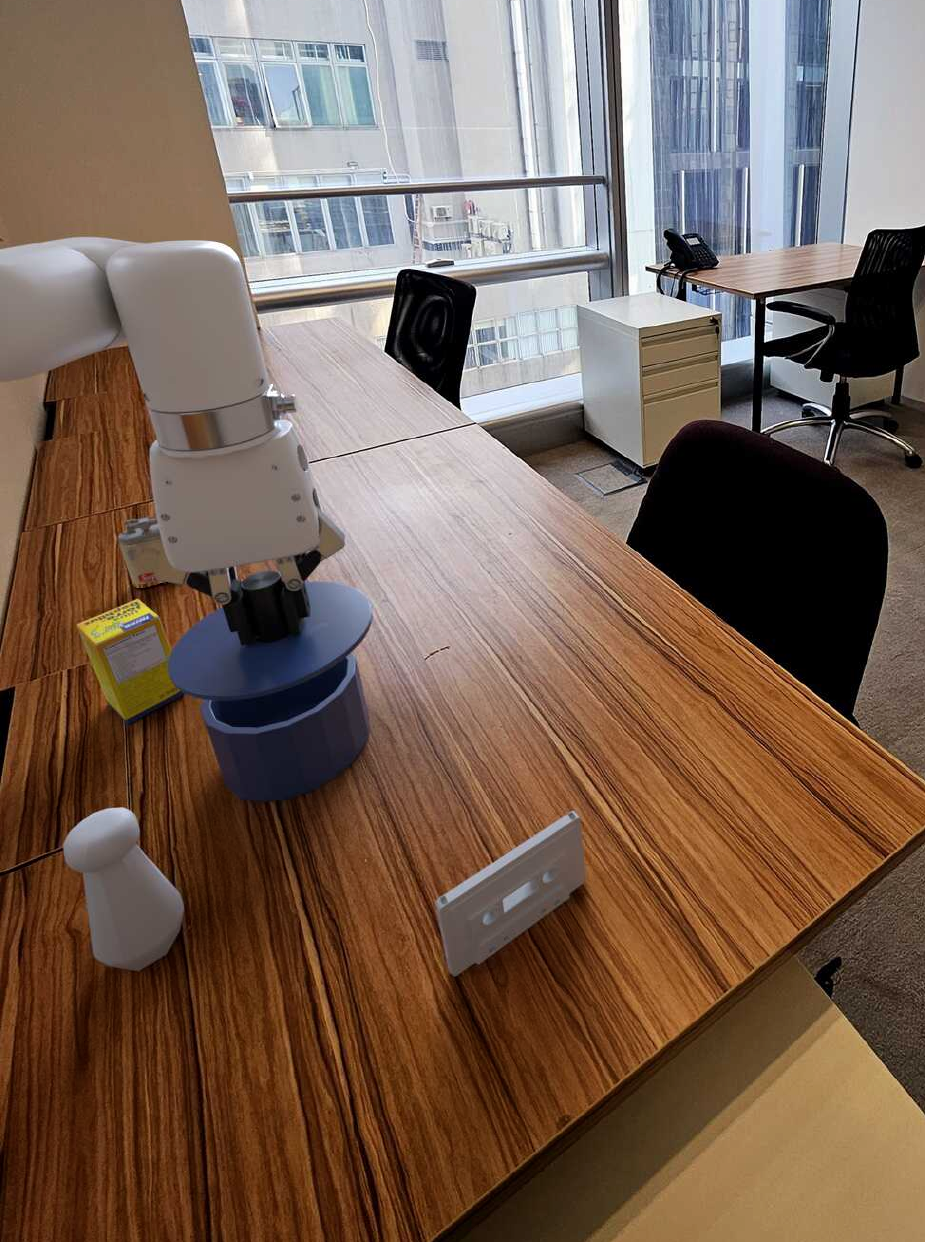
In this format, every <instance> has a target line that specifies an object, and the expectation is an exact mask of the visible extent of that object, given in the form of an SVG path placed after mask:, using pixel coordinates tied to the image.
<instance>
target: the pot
mask: <svg viewBox="0 0 925 1242" xmlns="http://www.w3.org/2000/svg"><path fill="white" fill-rule="evenodd" d="M367 705H368V704H367V701H366V696H365V691H364V688H363V683H362V678H361V674H360V669H359V665H358V660H357V657H356V656H355V655H354V653H353V651H352V652H351V653H350V654H349V655H348V656H347V657H345V658H344V659H343V660H342V661H340V662H339V663H337V664H336V665H334V666H333V667H332V668H330V669H328V670H327V671H325V672H323V673H321V674H320V675H318V676H316V677H314V678H312V679H310V680H308V681H306V682H303V683H301V684H298V685H296V686H293V687H291V688H288V689H285V690H282V691H279V692H276V693H272V694H268V695H265V696H260V697H255V698H250V699H242V700H234V701H214V700H205V699H202V703H201V706H200V708H199V711H200V714H201V717H202V720H203V723H204V726H205V729H206V733H207V735H208V738H209V742H210V744H211V747H212V750H213V753H214V756H215V759H216V762H217V765H218V769H219V772H220V774H221V776H222V779H223V781H224V784H225V785H226V788H227V789H228V790H229V791H230V792H231V793H232V794H233V795H235V796H237V797H238V798H241V799H243V800H246V801H250V802H260V803H265V802H266V803H268V802H269V803H270V802H271V803H272V802H279V801H283V800H288V799H292V798H295V797H299V796H302V795H304V794H306V793H310V792H312V791H313V790H316V789H317V788H319V787H321V786H323V785H325V784H327V783H328V782H330V781H332V780H333V779H335V778H336V777H338V776H339V775H340V774H342V773H343V772H344V771H346V769H348V767H350V765H351V764H352V763H354V762H355V760H356V759H357V758H358V757H359V755H360V754H361V752H362V751H363V750H364V748H365V746H366V744H367V742H368V739H369V736H370V730H371V728H370V714H369V709H368V706H367Z"/></svg>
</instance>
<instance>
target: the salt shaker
mask: <svg viewBox="0 0 925 1242" xmlns="http://www.w3.org/2000/svg"><path fill="white" fill-rule="evenodd" d="M140 833H141V830H140V827H139V823H138V820H137V817H136V815H135V814H134V812H133V811H132V810H130V809H127V808H126V807H124V806H123V807H111V808H110V807H109V808H104V809H102V810H99V811H97V812H93V813H91V814H90V815H89V816H87V817H85V818H84V819H82V820H81V821H80V822H79V823H77V825H76V826H74V827H73V828H72V829H71V830H70V832H68V834H67V836H66V838H65V839H64V841H63V843H62V850H63V855H64V862H65V863H66V865H67V866H68V868H70V869H72V870H74V871H75V872H77V873H80V874H82V878H83V885H84V893H85V901H86V908H87V916H88V924H89V931H90V939H91V947H92V954H93V957H94V959H96V960H97V961H98V962H100V963H102V964H104V965H106V966H108V967H110V968H117V969H121V970H129V971H134V972H140V971H141V970H143V969H145V968H146V967H148V966H149V965H152V964H153V963H154V962H156V961H158V960H159V959H161V958H163V957H164V956H166V955H167V954H168V952H169V951H170V949H171V947H172V945H173V943H174V942H175V940H176V939H177V936H178V935H179V933H180V931H181V926H182V922H183V917H184V913H185V907H184V902H183V899H182V896H181V893H180V892H179V891H178V889H177V888H176V887H175V886H174V885H173V884H172V882H170V880H169V879H168V878H167V877H166V876H165V875H164V874H163V872H162V871H161V870H160V869H159V868H158V867H157V866H156V865H155V864H154V862H153V861H152V860H151V859H150V858H149V857H148V856H147V855H146V854H145V852H144V851H143V850H142V849H141V847H139V846H138V845H137V841H138V839H139V837H140Z"/></svg>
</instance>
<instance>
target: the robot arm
mask: <svg viewBox="0 0 925 1242" xmlns="http://www.w3.org/2000/svg"><path fill="white" fill-rule="evenodd" d="M244 273H245V271H244V268H243V266H242V262H241V259H240V258H239V257H238V255H237V254H236V252H235V251H234V250H233V249H232V248H231V247H230V246H228V245H226V244H224V243H221V242H217V241H212V240H199V239H198V240H197V239H195V240H193V239H191V240H190V239H189V240H188V239H187V240H186V239H185V240H168V241H159V242H158V241H157V242H148V243H144V242H135V241H129V240H122V239H115V238H108V237H99V236H77V237H76V236H75V237H66V238H61V239H55V240H48V241H43V242H34V243H28V244H22V245H21V244H20V245H17V246H11V247H5V248H0V383H4V382H5V383H6V382H13V381H21V380H27V379H30V378H32V377H36V376H38V375H39V376H40V375H42V374H44V373H47V372H49V371H52V370H55V369H57V368H59V367H61V366H63V365H66V364H69V363H72V362H74V361H77V360H79V359H82V358H84V357H87V356H89V355H93V354H97V353H99V352H103V351H105V350H108V349H112V348H114V347H118V346H120V345H123V344H126V343H127V346H128V350H129V353H130V356H131V360H132V362H133V366H134V368H135V372H136V376H137V379H138V382H139V386H140V389H141V391H142V395H143V398H144V402H145V404H146V405H145V406H146V409H147V412H148V415H149V420H150V422H151V426H152V429H153V433H154V436H155V438H156V439H155V440H154V441H153V442H152V443H151V446H150V447H149V472H150V473H149V475H150V484H151V485H150V486H151V492H152V498H153V505H154V511H155V515H156V518H157V522H158V523H157V524H158V527H159V531H160V535H161V539H162V543H163V549H162V552H161V555H160V558H159V561H158V564H157V567H156V570H155V573H154V577H155V579H157V580H159V581H163V582H168V584H174V585H180V586H182V585H187V587H189V588H191V589H193V590H195V591H197V592H199V593H201V594H204V595H206V596H208V597H211V598H212V600H213V602H214V603H215V604H217V605H219V606H220V605H221V608H222V607H223V610H224V613H225V617H226V620H227V623H228V627H229V630H230V632H231V633H232V632H237V633H238V636H239V640H240V643H241V646H244V645H249V644H250V642H252V641H253V638H254V631H253V628H252V624H251V621H250V617H249V614H248V610H247V607H246V603H245V600H244V596H243V593H242V589H241V583H242V581H241V580H239V578H238V577H239V576H238V573H237V571H238V570H237V567H240V566H246V565H251V564H257V563H263V562H269V561H273V560H275V562H276V564H277V568H278V570H279V573H280V574H281V577H282V581H283V588H282V592H281V600H282V604H283V608H284V612H285V616H286V619H287V623H288V627H289V631H290V634H293V635H297V634H301V631H302V626H303V620H304V618H306V617H310V612H311V609H310V602H309V598H308V594H307V590H306V586H305V582H306V581H307V579H309V577H310V576H311V574H312V573H313V572H314V571H315V570H316V569H317V568H318V567H319V565H320V564H321V562H322V561H324V560H327V559H328V558H330V557H332V556H333V555H335V554H336V553H338V552H340V551H341V550H343V548H345V547H346V546H345V545H346V538H347V537H346V534H345V533H344V532H343V531H342V530H341V529H340V528H339V527H338V526H337V524H336V523H334V522H333V521H332V520H331V519H330V517H329V516H327V514H326V513H325V512H324V511H323V504H322V501H321V497H320V494H319V490H318V487H317V485H316V484H317V483H316V481H315V477H314V474H313V471H312V468H311V465H310V462H309V459H308V455H307V454H306V451H305V448H304V446H303V444H302V441H301V439H300V437H299V435H298V434H299V433H298V432H297V430H296V428H295V427H294V425H293V423H292V421H290V420H287V419H282V417H284V416H287V415H288V414H295V413H298V411H299V405H298V399H297V397H296V395H295V394H288V395H285V394H283V393H281V394H279V393H278V391H277V390H275V388H274V385H273V384H271V382H270V377H269V375H268V370H267V366H266V360H265V358H264V351H263V349H262V348H263V347H262V345H261V340H260V335H259V331H258V326H257V323H256V318H255V314H254V311H253V307H252V302H251V298H250V293H249V289H248V285H247V281H246V277H245V274H244Z"/></svg>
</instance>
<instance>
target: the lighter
mask: <svg viewBox="0 0 925 1242" xmlns="http://www.w3.org/2000/svg"><path fill="white" fill-rule="evenodd" d="M124 524H125V526H126V530H125V531H123V532H122V533H120V534H119V535H118V536H117V539H118V542H119V543H118V544H119V548H120V550H121V553H122V557H123V559H124V562H125V565H126V568H127V570H128V573H129V576H130V579H131V582H132V584H133V583H135V584H146V583H149V582H153V581H158V580H157V579H155V577H154V573H155V570H156V567H157V564H158V561H159V558H160V555H161V552H162V549H163V543H162V539H161V535H160V531H159V527H158V522H157V517H156V514H155V515H152V516H146V517H142V518H138V519H135V518H132V519H128V520H125V521H124Z"/></svg>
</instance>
